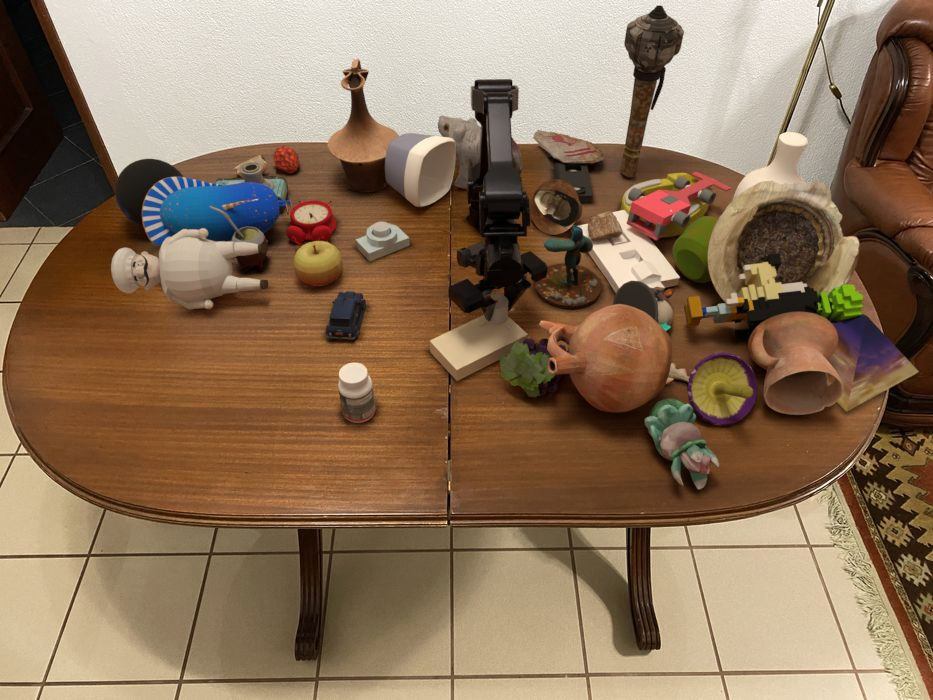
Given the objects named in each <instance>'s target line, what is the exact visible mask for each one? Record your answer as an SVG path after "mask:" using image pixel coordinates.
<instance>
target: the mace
mask: <svg viewBox="0 0 933 700" xmlns="http://www.w3.org/2000/svg"><path fill="white" fill-rule="evenodd" d="M684 35H685V30H684V29H683V26H681V24H679V22H678V21H677V20H675V19H674V18H672V17H671V16H670V15H668V13H667V11H666V10H665V8H664V6H663V5H661V4H659V5H656V6H655V7H654V8H653V9H651V11H649V12H648V13H646V14H643V15H641V16H637V17H636V18H635V19H634V20H632V21H630V22H629V23H627V25H626V29H625V36H624V37H625V38H624V43H623V44H624V48H625V50H626V51H627V54H628V58H629V59H630V61H631V62H632V64H633V66H634V68H633V72H632V76H633V78H634V80H633V88H632V97H631V103H630V112H629V119H628V124H627V131H626V137H625V143H624V149H623V152H622V159H621V165H620V173H621V174H622V175H624V176H625V177H627V178H633V177H636V176H637V173H638V167H639V163H640V159H641V154H642V153H641V150H642V147H643V142H644V138H645V133H646V129H647V125H648V124H647V122H648V118H649V115H650V110H651V111H653V110H654V109H655V106H656V104H657V101H658V100H659V97H660V94H661V92H662V89H663V86H664V82H665V75H666V65H668V64H670V63H671V62H672V60H673V59H674V57H675V56H677V55H678V54H679V53H680V51H681V49H682V44H683V40H684ZM658 80H659V81H658ZM657 83H658V84H657Z"/></svg>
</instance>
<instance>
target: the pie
mask: <svg viewBox="0 0 933 700" xmlns="http://www.w3.org/2000/svg"><path fill="white" fill-rule="evenodd" d="M805 182H806V183H799V182H798V183H794V184H787V183H784V184H781V185H780V184H779V183H775V182H774V181H763V182H759V183H757V184H755V185H753V186H751V187H750V188H748V189H747V190H745V191H744V192H742V193H741V194H740V195H738V196H737V197H736V198H735V199H734V200H733V199H732V200H733V201H731V202H730V203H729V204H728V205H727V206H726V207H725V209H724V211H723V212H722V214H721V215H720V216H719V217H718V218H719V219H718V221H717V222H716V224H715V226H714V228H713V231H712V234H711V237H710V242H709V247H708V268H709V273H710V276H711V282H712V284H713V287H714V289H715V291H716V292H717V294H718V295H719V297H720V298H721V300H722V301H723V302H724V303H725V300H726V299H730V296H729V295H730V294H731V293H737V298H739V297H738V293H739V292H740V290H741V288H744V287H748V285H745V281H739V279H738V276H739V274H745V272H744V270H743V267H744V265H750V264H759V263H762V262H764V261H765V259H766V258H767V256H768V255H769V254H777V253H780V258H781V262H782V263H781V265H780V266H779V268H778V269H777V270H776V273H777V276H776V278H774V279H775V283H779V282H781V284H788V283H797V282H803V284H807V286H810V288H814V291H817V294H818V295H819V293H820V292H827V296H828V295H829V293H830V292H831V291H832V290H833V289H834V287H840V286H841V285H843V284H848V285H849V283H850V281H851V279H852V277H853V276H854V273H855V270H856V268H857V265H858V261H859V257H860V254H861V243H860V239H859V238H858V237H857V236H852V235H850V236H849V235H848V236H844V233H843V229H842V227H841V224H840V223H841V221H842V219H843V214H842V213H841V212H840V211H839V208H838V206H837V205H836V204H835V202H834V201H833V200H832V194H831V188H830V186H829V185H828V184H826V183H824V182H822V181H818V180H816V181H814V180H813V181H812V180H811V181H805Z"/></svg>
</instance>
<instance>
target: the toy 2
mask: <svg viewBox="0 0 933 700" xmlns="http://www.w3.org/2000/svg"><path fill="white" fill-rule="evenodd" d="M781 263H782V262H781V258H780V253H777V254H769V255H768V256H767V258H766V259H765V261H764V262H762V263H759V264H750V265H744V267H743V270H744V272H745V274H739V276H738V279H739V281H745V285H748V287H744V288H741V290H740V292H739V293H738V297H739V298H737V293H731V294H730V295H729V296H730V299H726V300H725V302H724V303H723V302H721V303H717V305H714V306H704V307H703V306H702V302H701V297H700V295H694V296H688V297H687V299H686V302H685V304H684V306H683V310H684V315H685V320H686V325H687V326H686V327H687V328H688V327H697V326H699V325H700V323H701V321H702V320H703V319H709V318H713V323H714V325H716V324H725V323H733V322H734V323H735V324H739V323H742V321H747V324H748V328H739V329H734V331H733V333H734V334H733V335H734V339H735V342H743V341H745V342H746V341H749V338H750V335H751V333H752V332H753V331H754V329H755V328H756V327H757V326H758V325H759V324H760V323H762V322H763V321H765V320H767V319H769V318H771V317H773V316H776V315H779V314H783V313H788V312H810V313H814V314H817V315H820V316H822V317H824V318H827V320H829V321H843V320H847V319H851V318H855V317H859V316H861V315H862V314H863V311H862V309H863V308H864V305H863V301H864V300H865V298H864V294H863V293H860V291H859V290H858V291H856V287H855V285H854V284H849V283H848V284H843V285H841V286H840V287H834V289H833V290H832V291H831V292H830V293H829V295H828V296H827V292H820V293H819V295H818V294H817V291H814V288H810V286H807V284H803V282H797V283H788V284H781V282H779V283H775V279H774V278H776V276H777V273H776V270H777V269H778V268H779V266H780V265H781Z"/></svg>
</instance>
